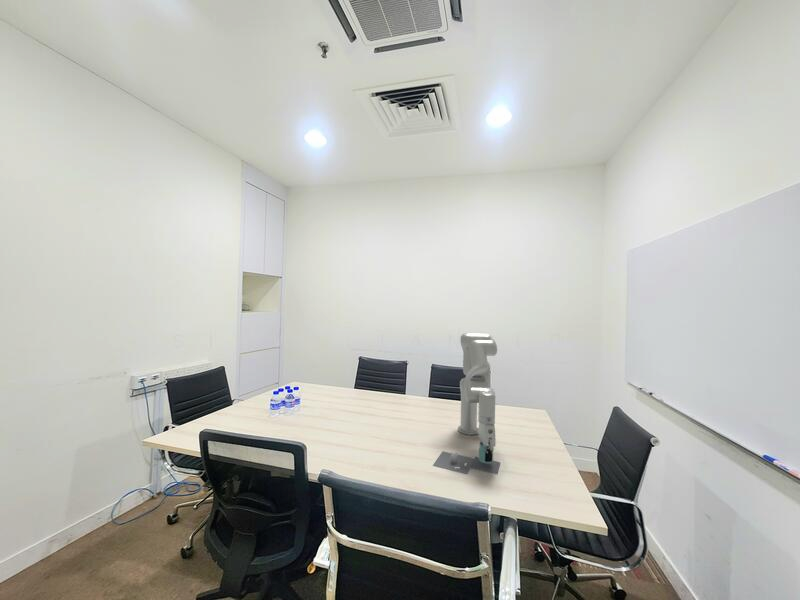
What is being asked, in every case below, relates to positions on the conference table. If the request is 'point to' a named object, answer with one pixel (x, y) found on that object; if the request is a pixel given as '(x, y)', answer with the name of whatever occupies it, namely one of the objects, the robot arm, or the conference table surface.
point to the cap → (483, 453)
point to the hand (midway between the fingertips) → (485, 457)
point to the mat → (486, 466)
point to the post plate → (460, 460)
